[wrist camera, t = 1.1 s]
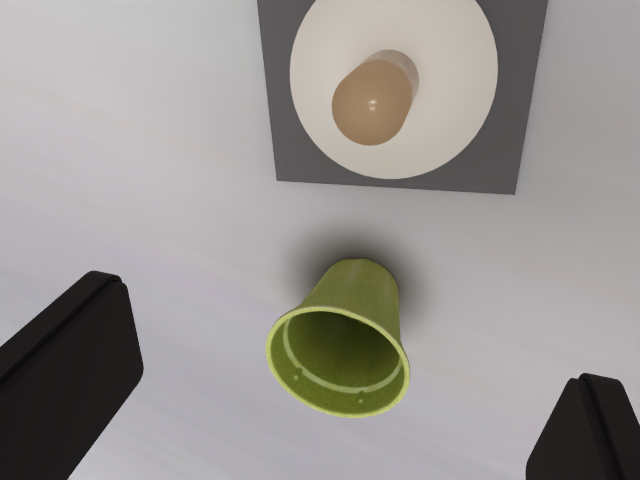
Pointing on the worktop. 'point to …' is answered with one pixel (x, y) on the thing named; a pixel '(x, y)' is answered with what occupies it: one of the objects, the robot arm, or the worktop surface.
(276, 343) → the plant pot
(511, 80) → the mat
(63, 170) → the worktop surface
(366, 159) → the lid
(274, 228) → the worktop surface
